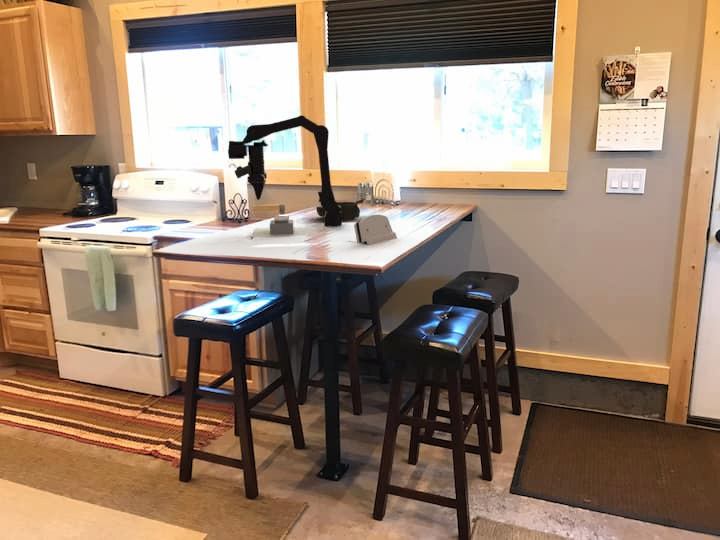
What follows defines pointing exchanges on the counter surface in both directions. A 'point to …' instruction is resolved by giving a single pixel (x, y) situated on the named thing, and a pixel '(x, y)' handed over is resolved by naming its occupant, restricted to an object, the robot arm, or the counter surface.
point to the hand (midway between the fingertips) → (258, 199)
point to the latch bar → (268, 207)
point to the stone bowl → (344, 209)
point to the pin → (281, 218)
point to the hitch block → (283, 229)
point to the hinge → (373, 229)
